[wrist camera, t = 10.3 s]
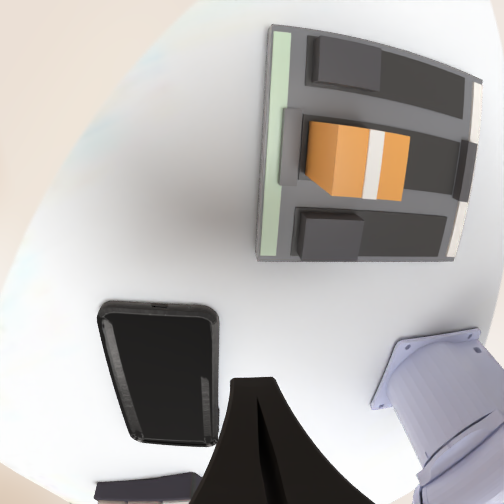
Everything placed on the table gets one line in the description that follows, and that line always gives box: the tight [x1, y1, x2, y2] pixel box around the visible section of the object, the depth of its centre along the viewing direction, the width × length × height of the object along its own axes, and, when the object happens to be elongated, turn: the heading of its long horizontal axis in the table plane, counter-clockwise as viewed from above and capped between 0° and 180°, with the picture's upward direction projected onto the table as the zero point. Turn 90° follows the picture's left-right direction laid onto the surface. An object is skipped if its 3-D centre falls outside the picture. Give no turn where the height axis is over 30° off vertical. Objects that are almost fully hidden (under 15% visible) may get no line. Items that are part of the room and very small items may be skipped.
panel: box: [256, 24, 483, 262], centre depth 15 cm, size 13×12×2 cm
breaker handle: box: [305, 121, 410, 201], centre depth 13 cm, size 3×3×4 cm
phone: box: [97, 301, 219, 447], centre depth 22 cm, size 8×1×15 cm
